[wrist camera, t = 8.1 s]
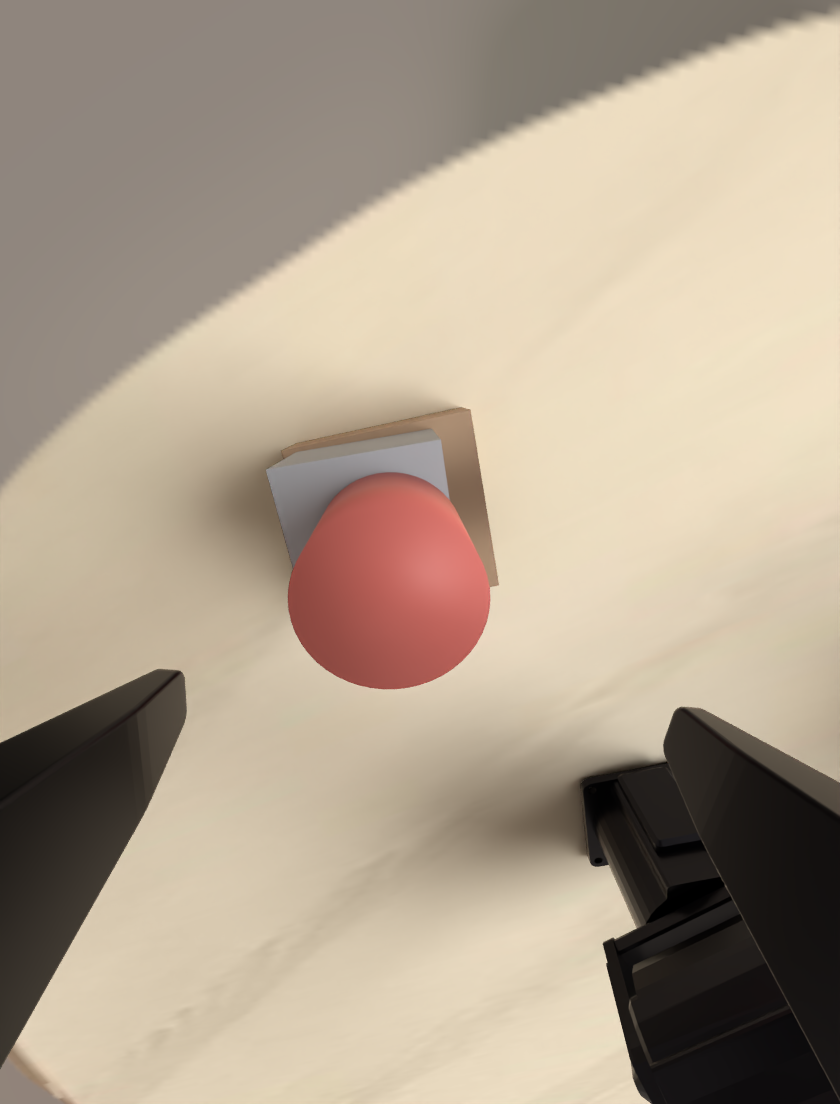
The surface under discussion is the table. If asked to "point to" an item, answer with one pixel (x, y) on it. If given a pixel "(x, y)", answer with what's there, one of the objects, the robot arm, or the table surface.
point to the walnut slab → (458, 466)
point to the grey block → (346, 476)
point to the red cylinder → (389, 585)
